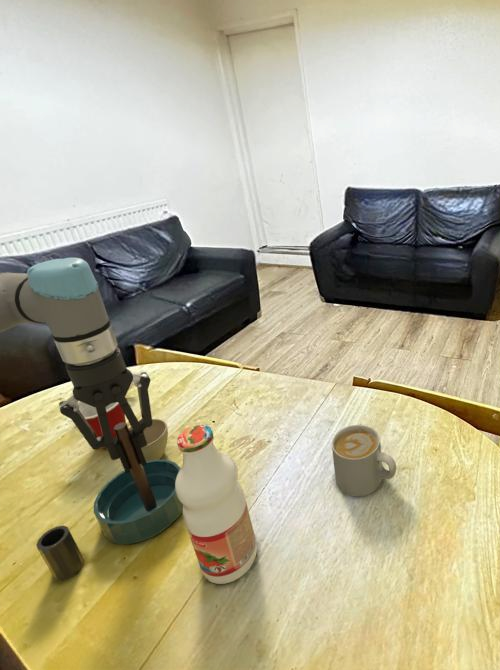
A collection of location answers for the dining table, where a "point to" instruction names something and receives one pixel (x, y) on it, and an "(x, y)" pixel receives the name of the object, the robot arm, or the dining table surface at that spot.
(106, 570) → the dining table surface
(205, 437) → the fruit juice
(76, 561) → the utensil pot
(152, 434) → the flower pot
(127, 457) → the stick
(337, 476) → the coffee mug
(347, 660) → the dining table surface
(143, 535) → the bowl
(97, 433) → the plastic cup
